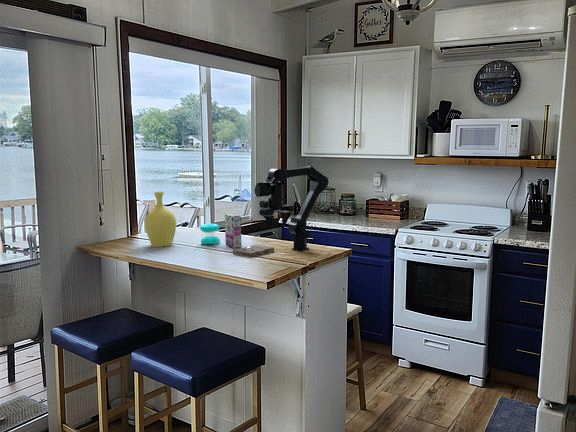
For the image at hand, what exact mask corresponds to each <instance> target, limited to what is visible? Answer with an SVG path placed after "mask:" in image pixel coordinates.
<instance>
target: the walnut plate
mask: <svg viewBox="0 0 576 432" xmlns="http://www.w3.org/2000/svg"><path fill="white" fill-rule="evenodd" d="M247 247H252V249H253V250H252V251H246V248H247ZM274 252H275V247H273V246H267V245H262V244H253V245H249V246H245V247H241V248H234V249H232V255H234V256H239V257H240V256H241V257H246V258H249V259H250V258H254V257H258V256H262V255H267V254H270V253H274Z"/></svg>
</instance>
